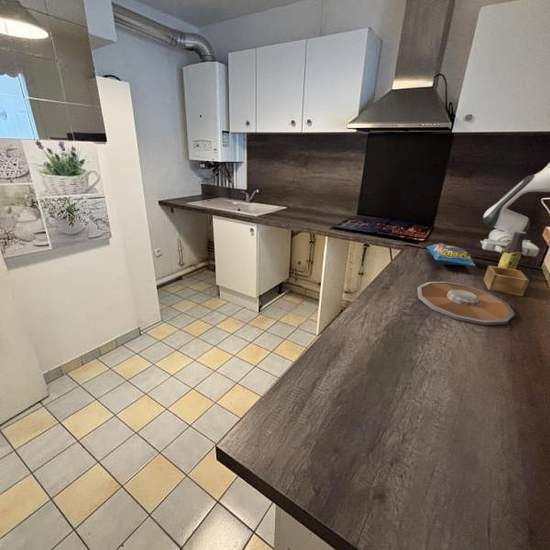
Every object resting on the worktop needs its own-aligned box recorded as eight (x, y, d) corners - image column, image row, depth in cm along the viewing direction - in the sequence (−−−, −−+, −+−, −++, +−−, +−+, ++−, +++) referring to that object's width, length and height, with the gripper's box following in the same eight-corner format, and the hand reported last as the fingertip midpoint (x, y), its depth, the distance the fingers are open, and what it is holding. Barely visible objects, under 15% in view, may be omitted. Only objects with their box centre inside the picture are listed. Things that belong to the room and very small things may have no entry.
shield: (427, 270, 122) (516, 292, 106) (425, 277, 123) (513, 300, 107) (408, 296, 100) (517, 329, 84) (406, 304, 101) (513, 338, 85)
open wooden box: (514, 285, 120) (520, 270, 117) (522, 296, 111) (529, 280, 108) (483, 279, 124) (488, 265, 121) (488, 289, 115) (494, 274, 112)
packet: (432, 269, 132) (437, 251, 129) (424, 253, 153) (428, 237, 149) (474, 275, 128) (481, 257, 124) (460, 258, 149) (466, 242, 145)
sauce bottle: (504, 278, 126) (522, 234, 118) (491, 273, 131) (506, 230, 123) (516, 277, 128) (533, 233, 120) (502, 271, 133) (518, 229, 125)
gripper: (481, 234, 138) (487, 241, 127) (534, 240, 131) (545, 249, 119) (477, 246, 141) (482, 255, 129) (528, 253, 134) (539, 263, 122)
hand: (513, 252), depth 124 cm, fingers closed on sauce bottle, 6 cm apart
